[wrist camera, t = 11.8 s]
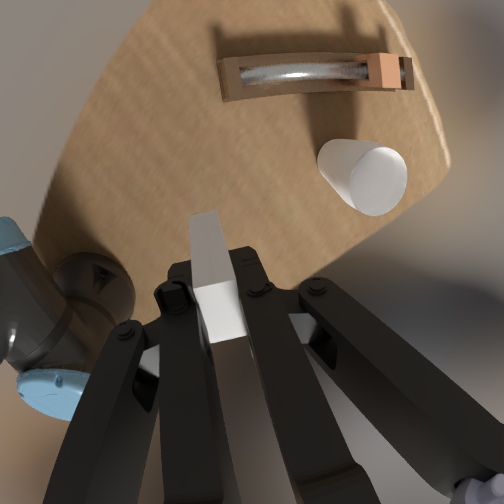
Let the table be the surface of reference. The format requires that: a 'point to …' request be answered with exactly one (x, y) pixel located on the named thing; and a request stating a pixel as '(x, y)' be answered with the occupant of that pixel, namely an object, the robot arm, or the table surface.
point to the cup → (364, 174)
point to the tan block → (381, 70)
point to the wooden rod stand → (299, 74)
